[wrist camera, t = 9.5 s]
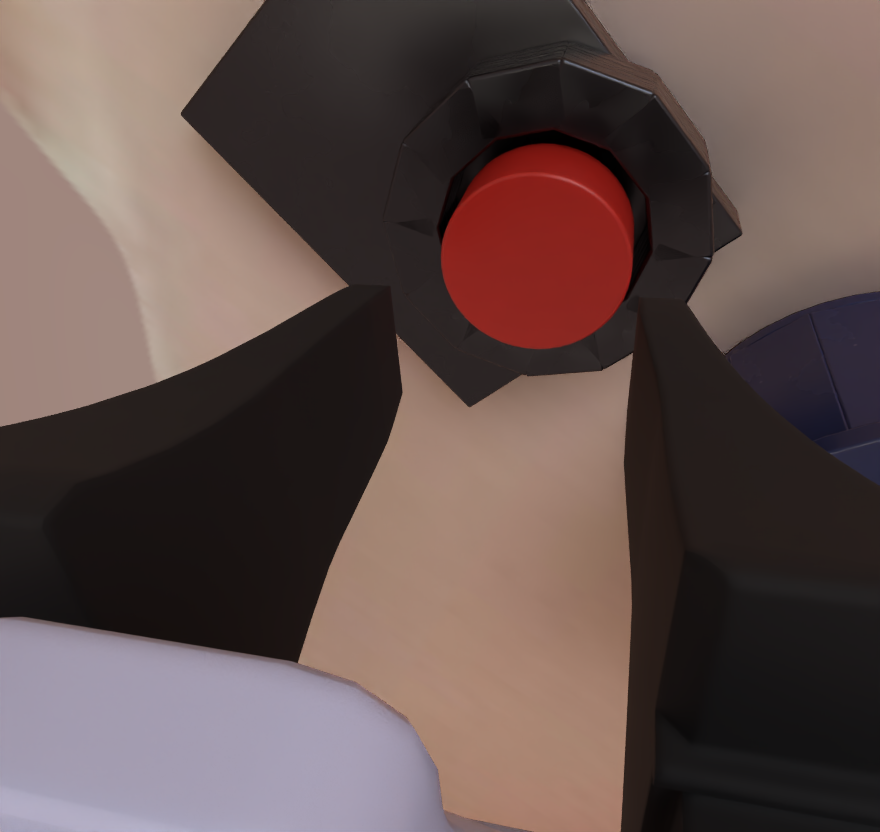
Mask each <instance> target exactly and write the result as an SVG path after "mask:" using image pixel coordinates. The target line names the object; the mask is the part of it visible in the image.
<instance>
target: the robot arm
mask: <svg viewBox="0 0 880 832" xmlns="http://www.w3.org/2000/svg"><path fill="white" fill-rule="evenodd" d="M401 396H402V383H401V374H400V366H399V357H398V348H397V339H396V331H395V322H394V313H393V305H392V296H391V287H390V286H384V285H362V284H353V285H351V286H348V287H346V288H344V289H342V290H340V291H338V292H336V293H334V294H332V295H330V296H328V297H326V298H325V299H323V300H321V301H319V302H317V303H316V304H314V305H312V306H311V307H309V308H307V309H305V310H304V311H302V312H300V313H298V314H297V315H295V316H293V317H291V318H290V319H288V320H286V321H284V322H283V323H281V324H279V325H277V326H276V327H274V328H272V329H270V330H269V331H267V332H265V333H263V334H261V335H259V336H257V337H255V338H253V339H251V340H249V341H247V342H246V343H244V344H242V345H240V346H238V347H236V348H234V349H232V350H230V351H228V352H226V353H224V354H222V355H220V356H219V357H216V358H214V359H212V360H210V361H208V362H206V363H204V364H201V365H199V366H197V367H195V368H192V369H190V370H188V371H185V372H183V373H180V374H178V375H175V376H173V377H170V378H168V379H165V380H163V381H160V382H158V383H155V384H152V385H150V386H147V387H144V388H141V389H138V390H135V391H132V392H128V393H125V394H122V395H119V396H116V397H113V398H110V399H107V400H104V401H101V402H98V403H95V404H91V405H89V406H85V407H81V408H77V409H74V410H70V411H66V412H62V413H59V414H54V415H51V416H47V417H42V418H38V419H34V420H29V421H25V422H21V423H16V424H11V425H6V426H2V427H0V832H532V831H527V830H522V829H517V828H512V827H507V826H502V825H497V824H492V823H487V822H482V821H478V820H473V819H468V818H464V817H461V816H458V815H456V814H453V813H450V812H447V811H445V810H443V806H442V798H441V790H440V782H439V775H438V769H437V767H436V766H435V764H434V762H433V761H432V759H431V757H430V755H429V754H428V752H427V750H426V748H425V747H424V745H423V743H422V741H421V740H420V738H419V736H418V734H417V733H416V731H415V729H414V728H413V726H412V725H411V723H410V722H409V720H408V719H407V717H405V716H404V715H403V714H401V713H400V712H398V711H397V710H395V709H394V708H392V707H391V706H390V705H388V704H387V703H385V702H384V701H382V700H381V699H380V698H378V697H377V696H375V695H374V694H372V693H371V692H369V691H368V690H367V689H365V688H364V687H362V686H361V685H359V684H358V683H356V682H354V681H351V680H348V679H345V678H342V677H339V676H336V675H333V674H329V673H326V672H323V671H320V670H317V669H314V668H311V667H308V666H305V665H302V664H299V663H298V660H299V657H300V653H301V650H302V647H303V644H304V641H305V638H306V634H307V631H308V628H309V625H310V622H311V619H312V616H313V613H314V610H315V607H316V604H317V601H318V598H319V595H320V592H321V589H322V587H323V584H324V581H325V578H326V575H327V572H328V569H329V566H330V564H331V562H332V559H333V557H334V554H335V552H336V550H337V547H338V545H339V543H340V541H341V539H342V537H343V534H344V532H345V530H346V528H347V526H348V524H349V522H350V520H351V518H352V516H353V514H354V512H355V510H356V507H357V505H358V503H359V501H360V499H361V497H362V495H363V493H364V491H365V489H366V487H367V485H368V483H369V480H370V478H371V476H372V474H373V472H374V470H375V468H376V466H377V464H378V461H379V459H380V457H381V455H382V453H383V451H384V448H385V446H386V444H387V442H388V439H389V436H390V433H391V430H392V427H393V423H394V420H395V417H396V413H397V410H398V406H399V403H400V399H401ZM624 471H625V488H626V504H627V519H628V534H629V550H630V565H631V581H632V618H631V641H630V664H629V685H628V706H627V727H626V746H625V765H624V784H623V803H622V821H621V832H880V485H878V484H876V483H874V482H873V481H871V480H869V479H868V478H866V477H865V476H863V475H862V474H860V473H859V472H857V471H856V470H854V469H853V468H851V467H850V466H848V465H846V464H845V463H843V462H842V461H840V460H839V459H837V458H836V457H834V456H833V455H831V454H830V453H828V452H827V451H826V450H824V449H823V448H822V447H820V446H819V445H817V444H816V443H815V442H813V441H812V440H811V439H809V438H808V437H807V436H806V435H804V434H803V433H802V432H801V431H800V430H798V429H797V428H796V427H795V426H793V425H792V424H791V423H790V422H788V421H787V420H786V419H785V418H784V417H782V416H781V415H780V414H779V413H778V412H777V411H775V410H774V409H773V408H772V407H771V406H770V405H769V404H768V403H767V402H766V401H765V400H764V399H763V398H762V397H761V396H760V395H759V394H758V393H757V392H756V391H755V390H754V389H753V388H752V387H751V386H750V385H749V384H748V383H747V382H746V381H745V380H744V379H743V378H742V377H741V376H740V374H739V373H738V372H737V371H736V370H735V368H734V367H733V366H732V365H731V364H730V362H729V361H728V360H727V359H726V358H725V356H724V355H723V354H722V353H721V352H720V350H719V349H718V348H717V346H716V345H715V344H714V342H713V341H712V340H711V338H710V337H709V336H708V334H707V333H706V331H705V330H704V329H703V327H702V326H701V324H700V323H699V321H698V320H697V318H696V317H695V315H694V314H693V312H692V311H691V309H690V308H689V306H688V305H687V304H686V303H685V302H684V300H683V299H669V298H647V297H639V304H638V313H637V322H636V332H635V341H634V351H633V360H632V370H631V379H630V389H629V398H628V408H627V422H626V438H625V455H624Z"/></svg>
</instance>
